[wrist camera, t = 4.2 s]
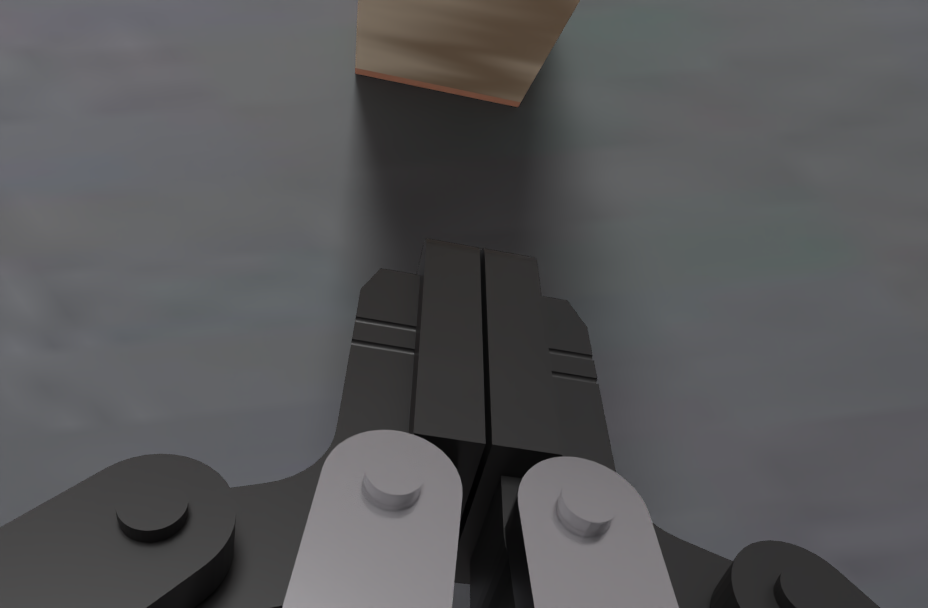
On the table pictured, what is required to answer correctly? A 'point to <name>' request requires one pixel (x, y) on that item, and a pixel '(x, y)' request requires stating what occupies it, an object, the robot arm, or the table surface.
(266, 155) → the table surface
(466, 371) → the robot arm
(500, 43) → the tall block
